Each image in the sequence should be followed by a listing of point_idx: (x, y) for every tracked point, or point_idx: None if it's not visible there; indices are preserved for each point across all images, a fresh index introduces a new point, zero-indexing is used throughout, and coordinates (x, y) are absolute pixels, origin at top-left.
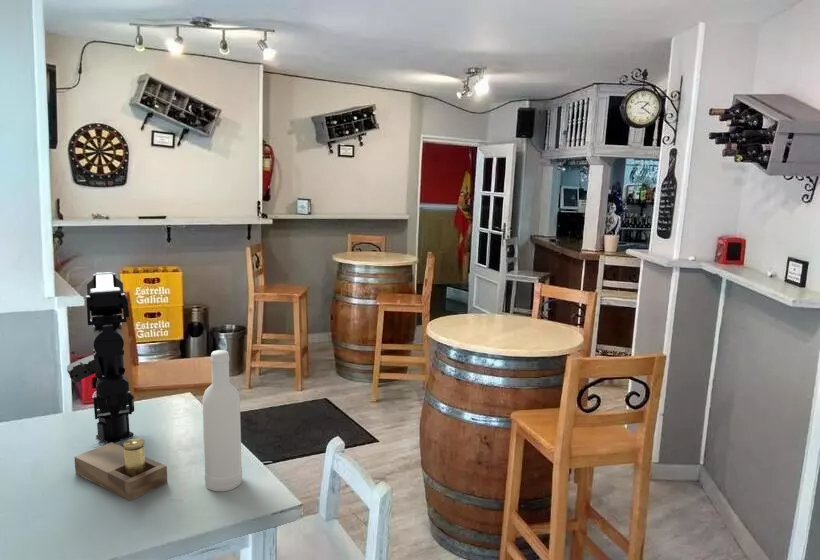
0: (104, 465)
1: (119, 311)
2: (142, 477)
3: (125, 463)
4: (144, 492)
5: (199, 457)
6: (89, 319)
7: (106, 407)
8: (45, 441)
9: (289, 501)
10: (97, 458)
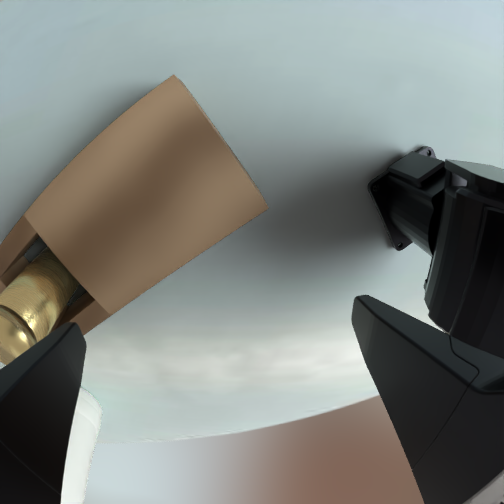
0: (66, 198)
1: None
2: None
3: (15, 278)
4: None
5: (187, 387)
6: None
7: (446, 227)
8: (446, 23)
9: None
10: (127, 165)
